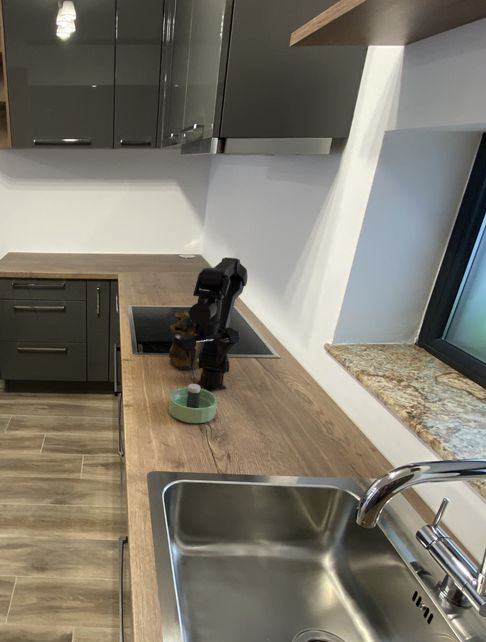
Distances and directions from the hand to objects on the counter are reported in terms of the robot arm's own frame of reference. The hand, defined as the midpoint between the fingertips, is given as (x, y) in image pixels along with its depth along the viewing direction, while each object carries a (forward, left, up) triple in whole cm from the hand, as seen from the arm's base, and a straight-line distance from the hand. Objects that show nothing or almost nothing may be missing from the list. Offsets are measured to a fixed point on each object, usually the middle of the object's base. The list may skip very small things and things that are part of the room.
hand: (204, 365), depth 130 cm
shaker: (+6, +5, -11) cm, 14 cm away
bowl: (+6, +5, -12) cm, 14 cm away
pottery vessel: (-9, -26, -12) cm, 30 cm away
